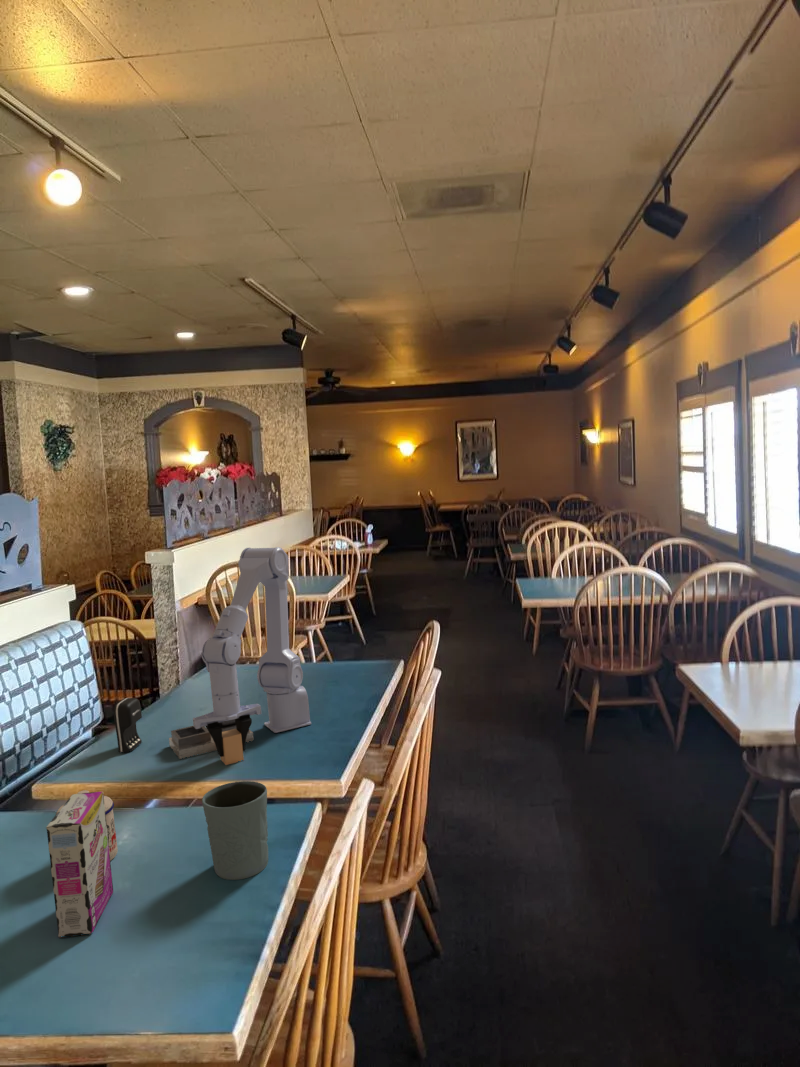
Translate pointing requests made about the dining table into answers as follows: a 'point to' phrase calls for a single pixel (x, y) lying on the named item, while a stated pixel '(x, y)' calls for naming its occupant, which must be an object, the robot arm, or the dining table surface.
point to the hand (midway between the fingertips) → (231, 752)
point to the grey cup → (237, 828)
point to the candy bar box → (80, 863)
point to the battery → (127, 724)
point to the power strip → (198, 739)
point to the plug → (232, 746)
